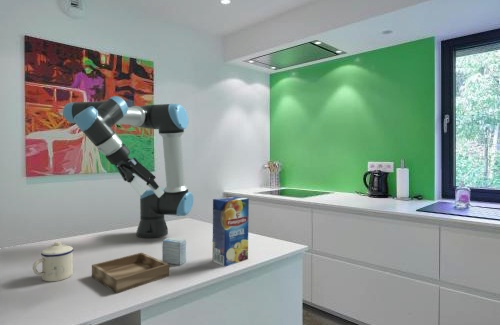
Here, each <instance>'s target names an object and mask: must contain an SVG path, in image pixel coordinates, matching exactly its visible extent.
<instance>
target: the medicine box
mask: <svg viewBox="0 0 500 325" xmlns="http://www.w3.org/2000/svg"><path fill="white" fill-rule="evenodd" d="M161 243H162V244H161V247H162V257H161V258H162V259H161V261H163V262H165V263H167V264H169V265H171V264H172V265H177V266H178V265H180V266H181V265H183V264H184V263H186V262H187V241H186V239H184V238H176V237H175V238H174V237H167V238H165V239H163V240H162V242H161Z"/></svg>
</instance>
